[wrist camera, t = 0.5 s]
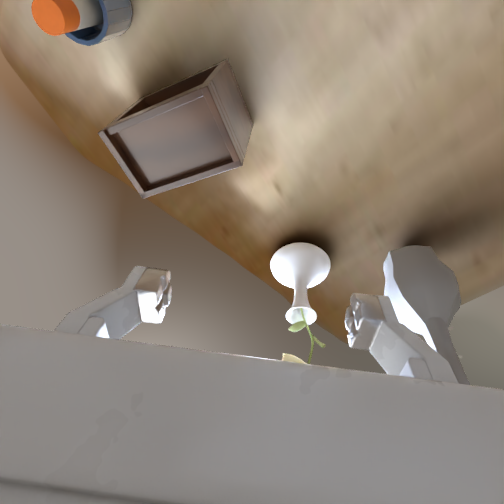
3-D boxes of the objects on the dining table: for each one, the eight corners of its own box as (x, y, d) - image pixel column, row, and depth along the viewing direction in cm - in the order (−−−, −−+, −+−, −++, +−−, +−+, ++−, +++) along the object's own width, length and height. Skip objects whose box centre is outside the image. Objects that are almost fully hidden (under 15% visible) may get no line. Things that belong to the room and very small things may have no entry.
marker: (91, -13, 38) (27, -9, 29) (116, -6, 38) (61, 0, 29) (94, 18, 40) (35, 31, 31) (118, 24, 40) (67, 39, 31)
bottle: (360, 246, 60) (400, 413, 37) (422, 215, 54) (513, 389, 32) (389, 281, 65) (439, 447, 42) (448, 256, 59) (542, 431, 37)
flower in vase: (259, 250, 63) (245, 370, 44) (314, 228, 58) (323, 351, 39) (291, 291, 69) (290, 410, 51) (342, 274, 65) (362, 398, 46)
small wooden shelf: (139, 98, 46) (97, 133, 36) (227, 58, 42) (207, 85, 32) (171, 155, 52) (142, 198, 42) (253, 125, 47) (242, 165, 37)
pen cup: (77, -34, 37) (42, -35, 32) (131, -20, 38) (104, -19, 32) (85, 29, 41) (54, 37, 36) (133, 41, 42) (110, 51, 36)
